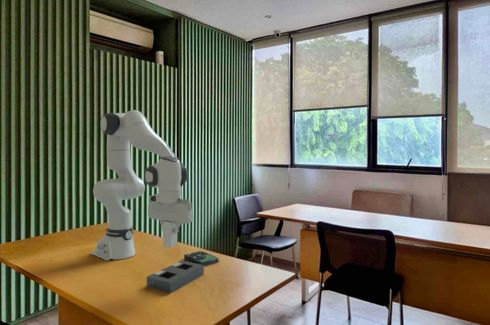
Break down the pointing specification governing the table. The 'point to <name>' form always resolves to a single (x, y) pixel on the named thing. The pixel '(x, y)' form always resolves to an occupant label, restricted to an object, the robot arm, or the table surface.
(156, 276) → the panel
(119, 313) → the table surface
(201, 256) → the disk drive
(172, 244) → the plug
